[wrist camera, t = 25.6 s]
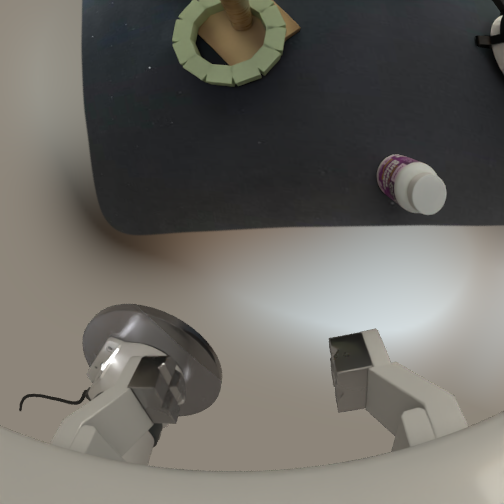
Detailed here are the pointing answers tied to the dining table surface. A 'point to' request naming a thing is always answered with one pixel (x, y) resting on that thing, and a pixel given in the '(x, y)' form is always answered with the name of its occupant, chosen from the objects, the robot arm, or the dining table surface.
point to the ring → (239, 72)
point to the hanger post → (239, 31)
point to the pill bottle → (411, 184)
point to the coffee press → (495, 37)
